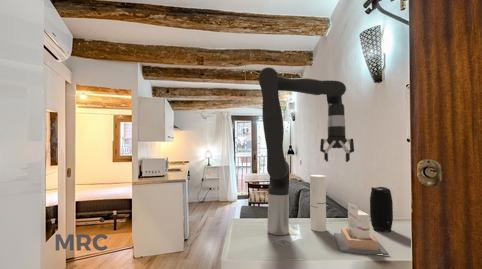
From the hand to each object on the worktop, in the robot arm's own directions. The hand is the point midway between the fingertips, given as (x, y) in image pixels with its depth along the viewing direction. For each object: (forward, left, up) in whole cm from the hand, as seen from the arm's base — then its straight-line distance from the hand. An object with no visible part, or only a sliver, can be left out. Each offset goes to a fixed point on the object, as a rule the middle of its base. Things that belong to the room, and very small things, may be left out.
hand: (336, 161), depth 112 cm
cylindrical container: (-8, +5, -32) cm, 34 cm away
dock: (+6, -11, -32) cm, 34 cm away
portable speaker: (+21, +11, -32) cm, 40 cm away
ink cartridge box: (+6, -11, -31) cm, 34 cm away
